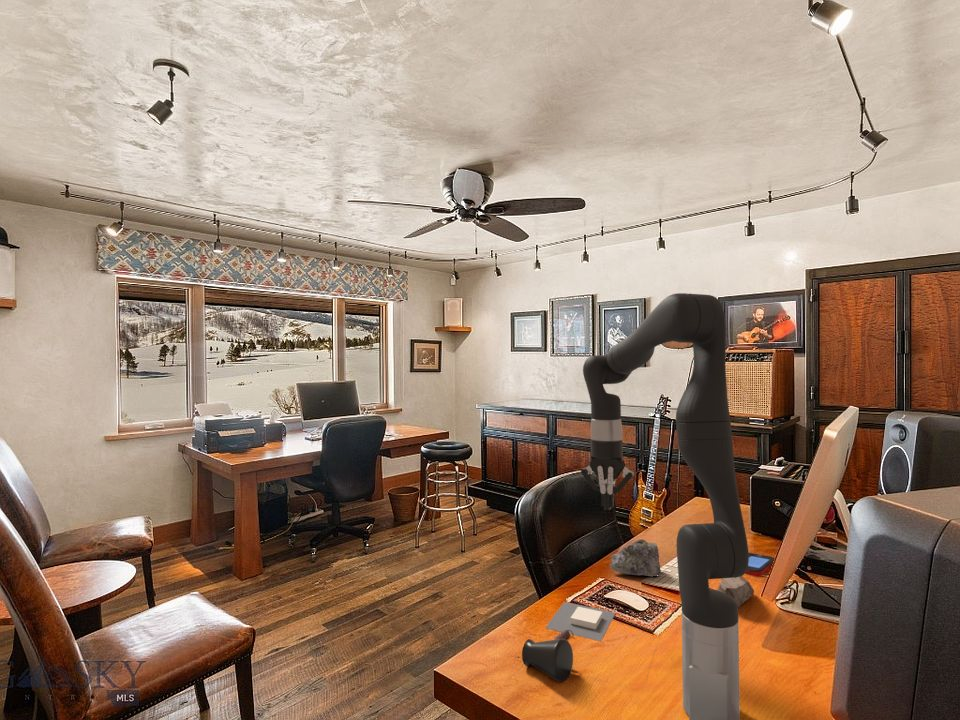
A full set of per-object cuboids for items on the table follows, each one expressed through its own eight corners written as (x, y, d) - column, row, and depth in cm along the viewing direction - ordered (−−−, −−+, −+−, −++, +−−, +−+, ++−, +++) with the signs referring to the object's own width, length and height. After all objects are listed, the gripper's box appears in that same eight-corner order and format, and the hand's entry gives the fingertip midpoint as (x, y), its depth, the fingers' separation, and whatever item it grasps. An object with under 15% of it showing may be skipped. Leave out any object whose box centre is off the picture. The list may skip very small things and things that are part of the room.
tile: (570, 624, 122) (595, 630, 119) (570, 617, 122) (595, 623, 119) (578, 612, 127) (602, 618, 124) (578, 606, 127) (602, 611, 124)
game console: (734, 553, 165) (734, 546, 165) (778, 565, 156) (778, 557, 155) (714, 566, 156) (713, 558, 156) (759, 579, 146) (759, 571, 146)
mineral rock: (608, 574, 150) (607, 539, 150) (621, 561, 159) (621, 529, 159) (653, 585, 143) (652, 548, 142) (664, 571, 151) (664, 537, 151)
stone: (733, 620, 124) (763, 591, 124) (703, 589, 128) (732, 561, 128) (727, 617, 137) (754, 590, 137) (700, 589, 141) (726, 563, 141)
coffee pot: (556, 688, 99) (519, 679, 104) (599, 657, 113) (564, 650, 118) (553, 645, 100) (517, 638, 105) (595, 620, 114) (562, 615, 119)
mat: (600, 643, 114) (600, 641, 114) (545, 629, 120) (545, 627, 120) (615, 614, 127) (615, 612, 127) (564, 603, 133) (564, 601, 133)
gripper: (575, 438, 126) (577, 509, 126) (631, 441, 120) (633, 516, 120) (583, 434, 133) (584, 502, 132) (637, 436, 127) (638, 507, 127)
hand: (607, 508), depth 126 cm, fingers closed
